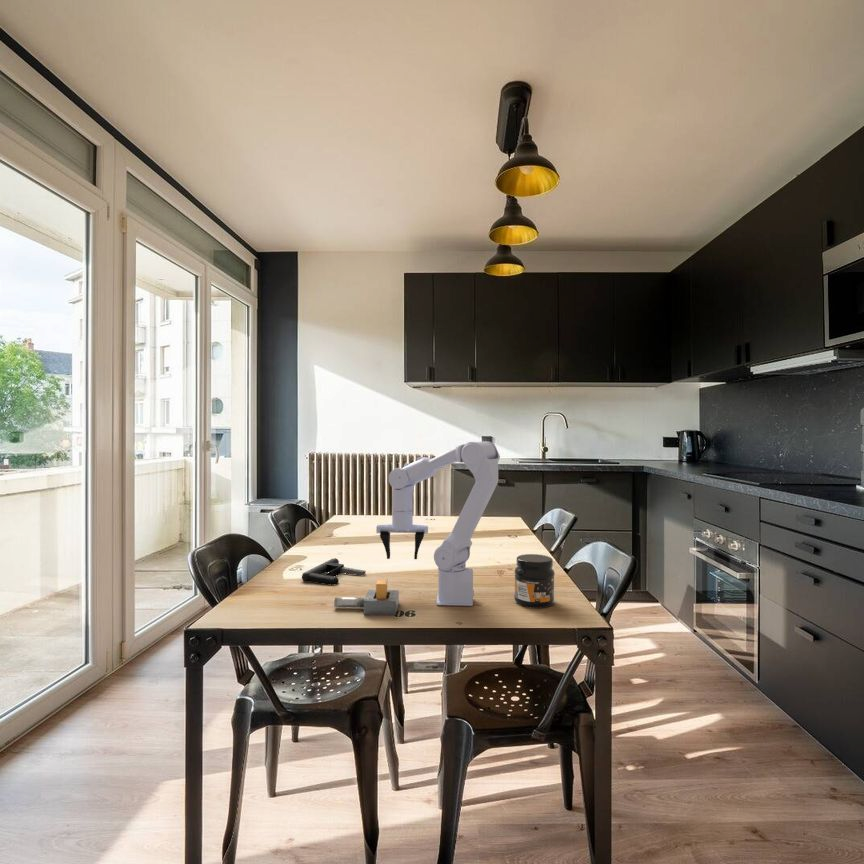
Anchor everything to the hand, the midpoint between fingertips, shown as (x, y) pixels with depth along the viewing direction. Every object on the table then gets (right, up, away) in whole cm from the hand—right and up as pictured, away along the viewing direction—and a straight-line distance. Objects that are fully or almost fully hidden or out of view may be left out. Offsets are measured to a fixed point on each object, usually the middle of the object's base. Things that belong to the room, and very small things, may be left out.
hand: (402, 558), depth 157 cm
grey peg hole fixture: (-8, -10, -15) cm, 19 cm away
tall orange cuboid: (-4, -10, -15) cm, 18 cm away
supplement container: (+36, -10, -9) cm, 38 cm away
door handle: (-21, -10, +16) cm, 28 cm away
